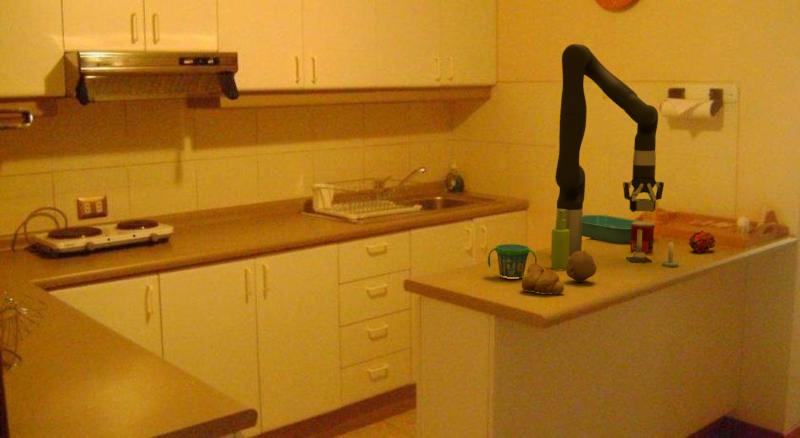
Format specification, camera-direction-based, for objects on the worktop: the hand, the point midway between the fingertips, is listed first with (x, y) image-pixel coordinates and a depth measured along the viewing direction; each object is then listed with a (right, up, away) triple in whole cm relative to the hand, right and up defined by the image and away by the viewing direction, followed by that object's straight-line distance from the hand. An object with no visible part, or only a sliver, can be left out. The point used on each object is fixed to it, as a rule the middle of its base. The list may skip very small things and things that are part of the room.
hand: (642, 211), depth 295 cm
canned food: (+5, -15, +18) cm, 24 cm away
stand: (0, -17, +3) cm, 18 cm away
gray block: (0, +1, 0) cm, 1 cm away
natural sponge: (-27, -23, -29) cm, 46 cm away
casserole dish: (+1, -10, +50) cm, 51 cm away
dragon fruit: (+27, -15, +18) cm, 36 cm away
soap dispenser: (-30, -19, -7) cm, 36 cm away
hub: (+8, -19, -5) cm, 21 cm away
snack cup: (-48, -22, -22) cm, 57 cm away
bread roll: (-42, -25, -41) cm, 64 cm away
